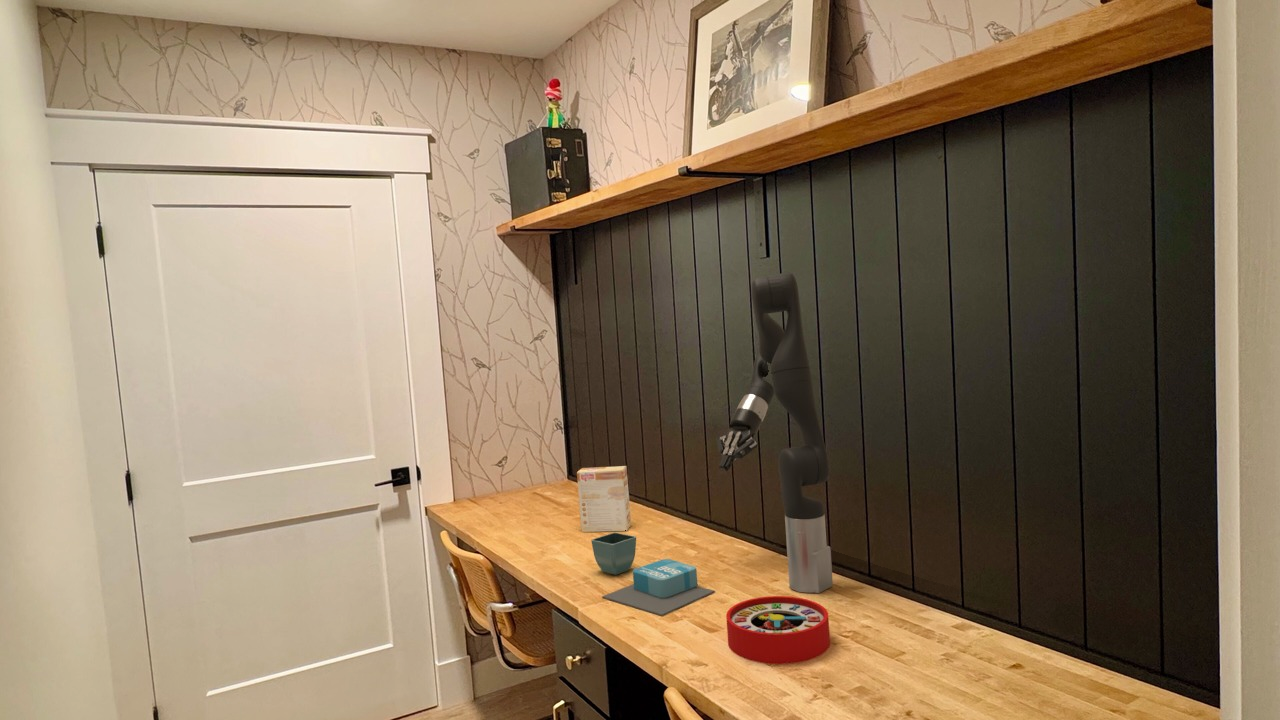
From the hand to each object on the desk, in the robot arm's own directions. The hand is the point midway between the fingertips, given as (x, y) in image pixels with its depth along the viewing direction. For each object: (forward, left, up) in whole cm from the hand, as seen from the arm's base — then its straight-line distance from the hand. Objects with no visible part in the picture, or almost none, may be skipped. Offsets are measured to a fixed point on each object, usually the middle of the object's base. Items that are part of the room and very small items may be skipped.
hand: (723, 469), depth 202 cm
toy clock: (-36, +29, -26) cm, 54 cm away
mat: (+2, +24, -26) cm, 36 cm away
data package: (+3, +14, -23) cm, 27 cm away
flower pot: (+24, +18, -26) cm, 40 cm away
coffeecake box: (+58, -9, -26) cm, 64 cm away
